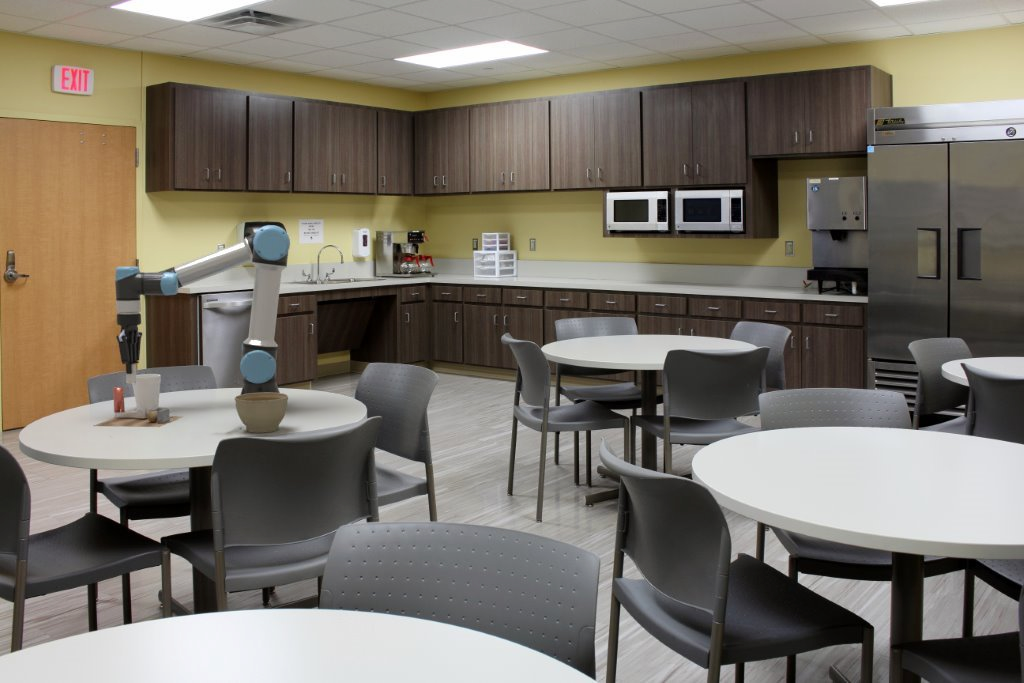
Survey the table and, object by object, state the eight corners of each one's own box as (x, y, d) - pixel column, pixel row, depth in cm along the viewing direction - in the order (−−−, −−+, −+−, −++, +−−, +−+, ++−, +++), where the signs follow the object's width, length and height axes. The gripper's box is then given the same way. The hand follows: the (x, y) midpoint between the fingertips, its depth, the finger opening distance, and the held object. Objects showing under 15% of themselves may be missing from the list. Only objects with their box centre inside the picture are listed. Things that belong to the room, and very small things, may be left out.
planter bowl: (261, 437, 286) (260, 402, 285) (225, 432, 295) (223, 397, 294) (300, 428, 300) (298, 394, 299) (263, 423, 308) (262, 390, 307)
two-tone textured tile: (169, 421, 306) (169, 408, 305) (163, 423, 301) (162, 411, 301) (163, 420, 306) (163, 408, 305) (157, 423, 302) (156, 411, 301)
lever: (171, 416, 312) (169, 387, 311) (164, 419, 307) (162, 389, 306) (119, 415, 314) (117, 386, 313) (111, 418, 309) (109, 388, 308)
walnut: (161, 421, 306) (160, 410, 305) (155, 423, 302) (155, 412, 302) (150, 421, 306) (150, 410, 306) (145, 423, 302) (144, 412, 302)
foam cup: (168, 411, 330) (166, 375, 329) (147, 416, 322) (146, 378, 321) (148, 409, 334) (146, 373, 333) (127, 414, 326) (125, 377, 325)
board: (183, 421, 313) (183, 406, 313) (159, 431, 297) (158, 416, 296) (120, 420, 316) (119, 405, 315) (92, 430, 299) (92, 415, 298)
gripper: (127, 311, 322) (130, 380, 324) (107, 314, 309) (110, 385, 311) (149, 311, 321) (151, 380, 324) (129, 314, 308) (132, 386, 311)
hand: (131, 383), depth 317 cm, fingers closed
